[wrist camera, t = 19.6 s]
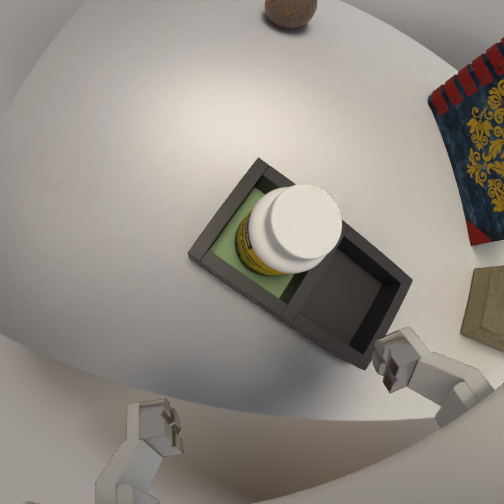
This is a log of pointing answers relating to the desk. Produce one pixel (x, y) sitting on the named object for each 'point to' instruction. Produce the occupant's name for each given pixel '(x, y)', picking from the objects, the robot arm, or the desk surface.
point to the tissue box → (486, 308)
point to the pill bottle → (288, 231)
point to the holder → (309, 278)
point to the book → (476, 140)
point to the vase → (290, 12)
